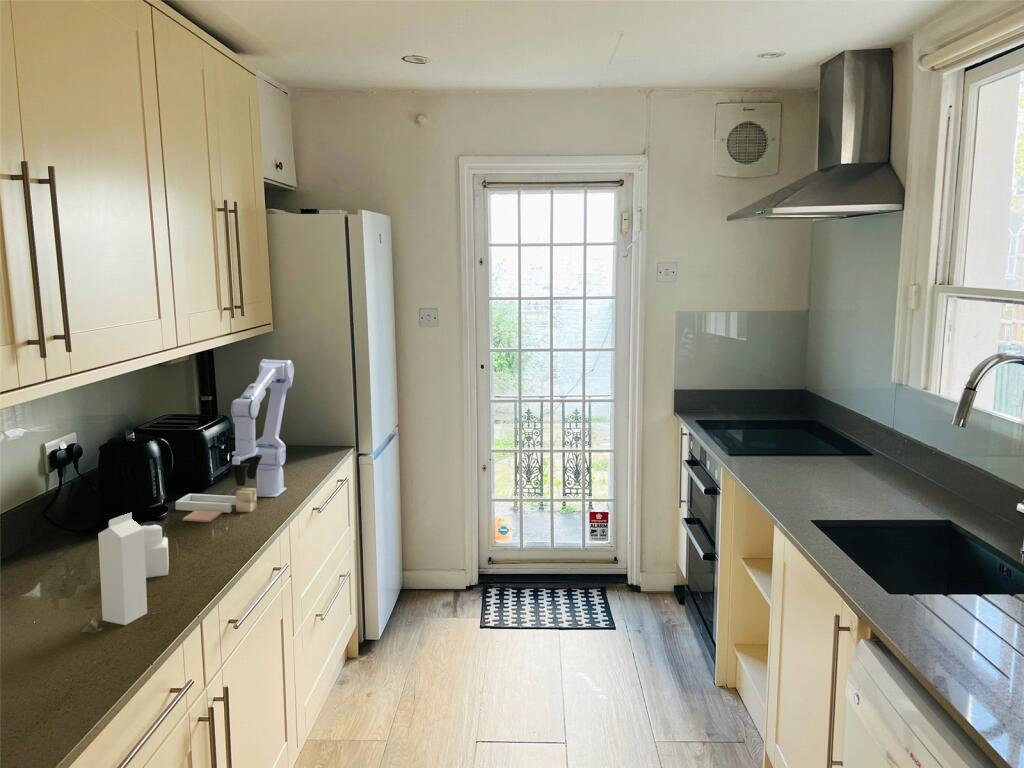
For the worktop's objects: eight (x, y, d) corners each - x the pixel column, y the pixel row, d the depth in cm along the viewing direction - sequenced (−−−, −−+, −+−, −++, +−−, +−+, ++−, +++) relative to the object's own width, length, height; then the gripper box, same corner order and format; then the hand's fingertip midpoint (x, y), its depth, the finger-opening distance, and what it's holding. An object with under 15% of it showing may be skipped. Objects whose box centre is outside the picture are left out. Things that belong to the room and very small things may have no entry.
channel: (189, 501, 234) (189, 493, 233) (241, 504, 233) (241, 496, 232) (175, 509, 225) (175, 501, 225) (229, 512, 224) (229, 504, 224)
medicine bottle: (136, 568, 182) (134, 520, 180) (168, 564, 185) (167, 517, 183) (134, 579, 175) (132, 530, 174) (168, 575, 178) (166, 527, 176)
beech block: (242, 506, 230) (242, 487, 230) (256, 507, 230) (256, 488, 229) (236, 511, 226) (235, 492, 225) (250, 512, 226) (250, 492, 225)
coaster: (196, 511, 224) (195, 509, 224) (222, 513, 224) (221, 511, 224) (182, 520, 216) (182, 518, 216) (209, 521, 216) (209, 519, 216)
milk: (102, 620, 155) (96, 518, 152) (125, 608, 161) (120, 509, 157) (125, 625, 153) (119, 522, 150) (148, 613, 159) (143, 513, 156)
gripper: (242, 432, 232) (243, 475, 234) (221, 442, 218) (222, 488, 220) (264, 433, 232) (265, 476, 234) (245, 444, 218) (246, 489, 220)
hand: (246, 482), depth 227 cm, fingers open, 7 cm apart
